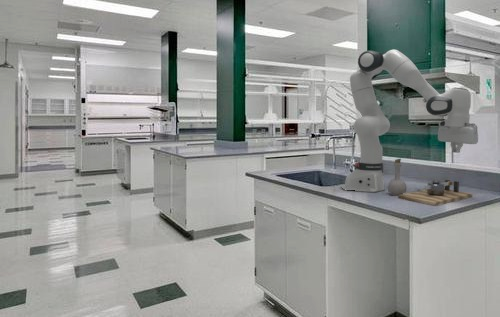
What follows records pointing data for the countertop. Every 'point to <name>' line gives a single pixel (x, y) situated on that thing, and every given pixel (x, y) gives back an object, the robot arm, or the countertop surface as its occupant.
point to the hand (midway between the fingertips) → (456, 152)
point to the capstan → (436, 187)
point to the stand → (436, 196)
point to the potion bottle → (397, 181)
